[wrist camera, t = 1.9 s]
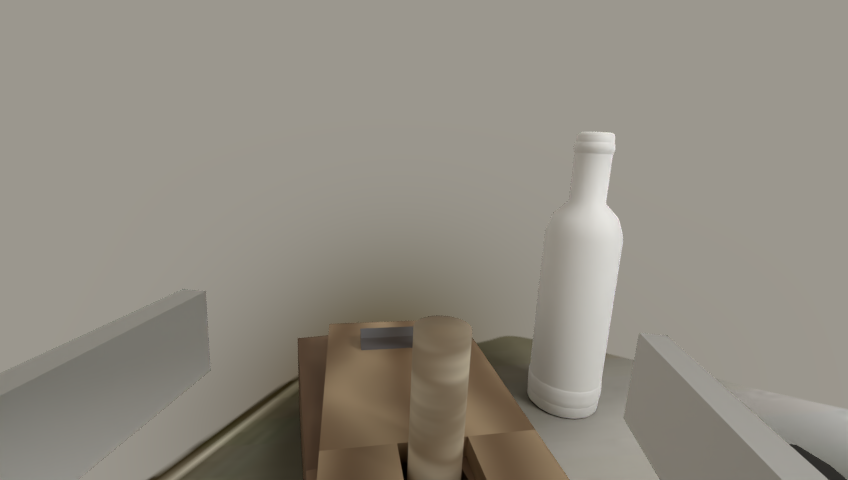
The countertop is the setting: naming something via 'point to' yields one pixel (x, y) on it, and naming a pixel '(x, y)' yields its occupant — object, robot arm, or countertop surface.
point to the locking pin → (438, 397)
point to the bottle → (577, 287)
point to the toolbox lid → (390, 411)
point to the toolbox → (311, 405)
